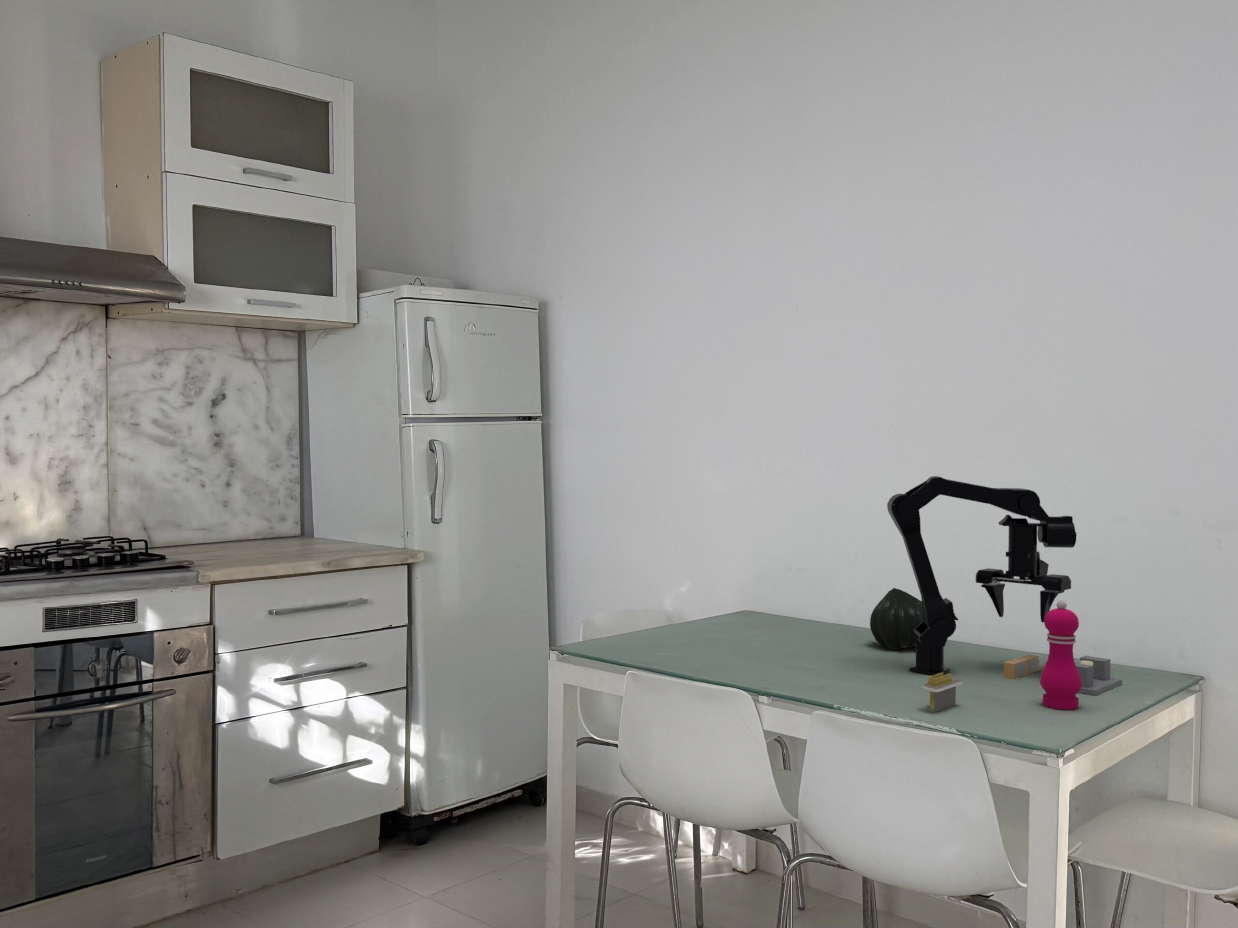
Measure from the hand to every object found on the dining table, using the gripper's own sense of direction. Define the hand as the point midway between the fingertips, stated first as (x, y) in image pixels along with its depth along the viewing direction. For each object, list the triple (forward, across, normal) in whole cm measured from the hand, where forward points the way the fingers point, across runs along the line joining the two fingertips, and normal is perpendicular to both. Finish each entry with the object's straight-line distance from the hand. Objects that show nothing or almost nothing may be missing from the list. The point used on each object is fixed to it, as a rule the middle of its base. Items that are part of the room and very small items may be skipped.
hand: (1021, 619), depth 220 cm
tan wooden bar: (+12, 0, 0) cm, 12 cm away
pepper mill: (+12, -17, +21) cm, 30 cm away
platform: (+12, -2, +39) cm, 41 cm away
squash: (+12, +33, -7) cm, 36 cm away
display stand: (+12, -14, +1) cm, 18 cm away
